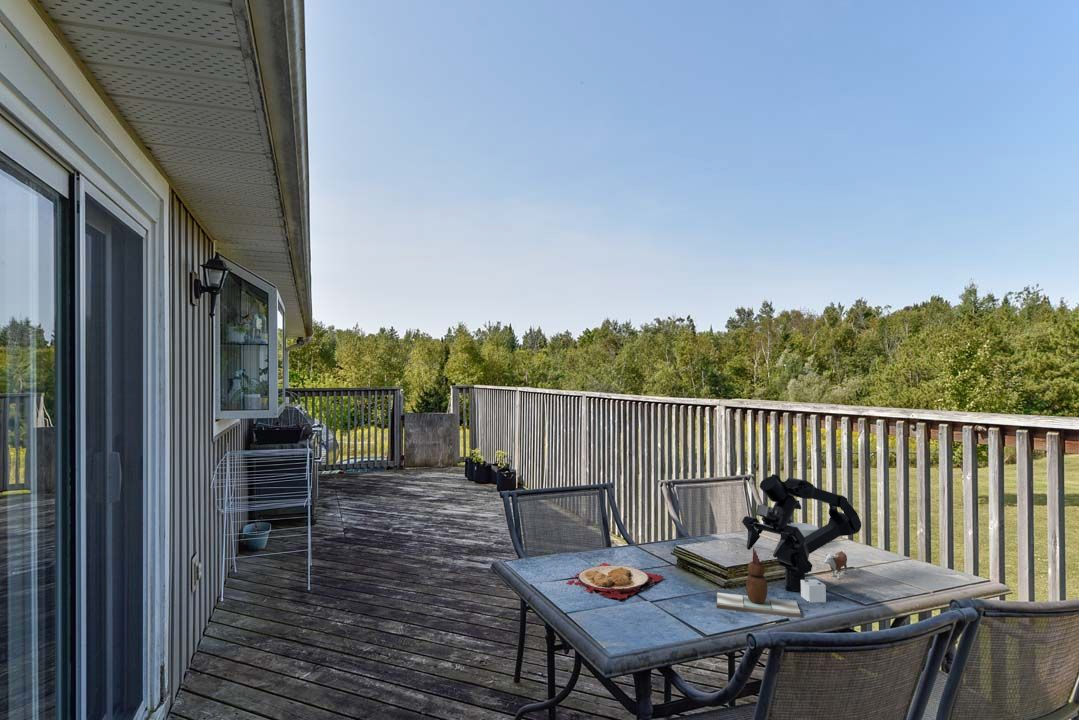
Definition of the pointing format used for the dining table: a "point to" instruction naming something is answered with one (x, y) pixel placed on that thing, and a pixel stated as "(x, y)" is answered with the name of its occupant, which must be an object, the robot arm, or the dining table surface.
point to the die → (813, 590)
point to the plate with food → (614, 580)
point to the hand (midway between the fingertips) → (760, 552)
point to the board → (758, 605)
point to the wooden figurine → (756, 581)
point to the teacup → (804, 528)
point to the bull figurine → (836, 562)
